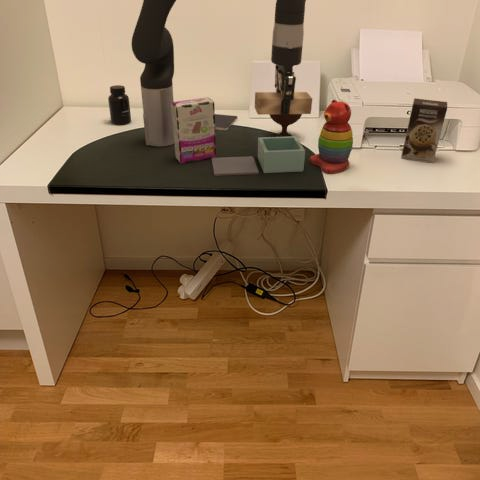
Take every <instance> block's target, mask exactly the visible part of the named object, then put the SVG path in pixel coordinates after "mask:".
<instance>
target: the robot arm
mask: <svg viewBox="0 0 480 480" xmlns="http://www.w3.org/2000/svg"><path fill="white" fill-rule="evenodd" d="M142 1H143V2H142V4H141V5H142V6H141V9H140V11H139V16H138V19H137V21H136V24H135V28H134V30H133V33H132V38H131V49H132V53H133V56H134V57H135V59H137V61H138V62H140V63H142V64H144V68H143V72H142V73H141V74H140V76H139V81H140V90H141V91H140V92H141V100H142V111H143V113H142V117H143V128H144V136H145V137H144V138H145V145H146V146H152V147H159V148H160V147H168V146H172V145H175V143H174V131H173V119H172V108H171V102H175V101H174V89H173V88H174V87H173V85H174V84H173V78H174V74H175V51H174V50H175V49H174V40H173V37H172V34H171V32H170V30H168V29H167V27H166V23H167V21H168V17H169V14H170V12H171V10H172V8H173V7H174V5H175V3H176V1H177V0H142ZM306 1H307V0H275V7H274V8H275V9H274V23H273V30H272V37H271V38H272V42H271V54H270V55H271V58H270V61H271V63H272V64H273V65H275V70H274V71H275V72H274V73H275V74H274V75H275V76H274V77H275V78H274V88H275V92H281V115H289V111H290V100H293V99H294V92H295V90H296V89H295V88H296V81H297V77H296V75H295V72H294V71H293V70H294V69H293V68H294V66H298V65H300V64H301V63H302V58H303V57H302V56H303V55H302V54H303V43H304V35H305V33H304V32H305V31H304V28H305V27H304V22H305V12H306V11H305V10H306ZM287 91H288V92H289V95H286V92H287Z"/></svg>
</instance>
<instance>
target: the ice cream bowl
mask: <svg viewBox="0 0 480 480" xmlns="http://www.w3.org/2000/svg"><path fill="white" fill-rule="evenodd" d="M287 92H288V91H287ZM268 115H269V116H270V119H272V121H273V122H274V123H276V124H278V125H279V126H280V127H281V132H278V133H277V134H275V137H289V136H293V135H292V134H291V133H289V132H288V127H289V126H291V125H293V124H295V123H297V122H298V121H299V120H300V119H301V117H302V115H303V114H289V115H281V114H268Z"/></svg>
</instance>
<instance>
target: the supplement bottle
mask: <svg viewBox="0 0 480 480" xmlns="http://www.w3.org/2000/svg"><path fill="white" fill-rule="evenodd" d="M109 92H110V93H109V94H110V95H108V98H107V99H108V100H107V101H108V108H109V115H110V116H109V117H110V122H111V124H113V125H116V126H125V125H128V124H130V123H131V122H132V115H131V103H130V98H129V95H127V94H126V87H125V86H124V85H122V84H121V85H112V86H109Z"/></svg>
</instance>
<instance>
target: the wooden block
mask: <svg viewBox="0 0 480 480" xmlns="http://www.w3.org/2000/svg"><path fill="white" fill-rule="evenodd" d="M286 95H289V92H286ZM312 106H313V98H312V96H311V95H310V93H308V92H307V91H294V99H293V100H290V111H289V114H302V115H311V114H312V113H311V112H312ZM254 110H255V111H256V114H257V115H260V116H261V115H262V116H263V115H269V114H281V92H276V91H273V92H272V91H267V92H264V91H263V92H260V91H259V92H257V91H255V92H254Z"/></svg>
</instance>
